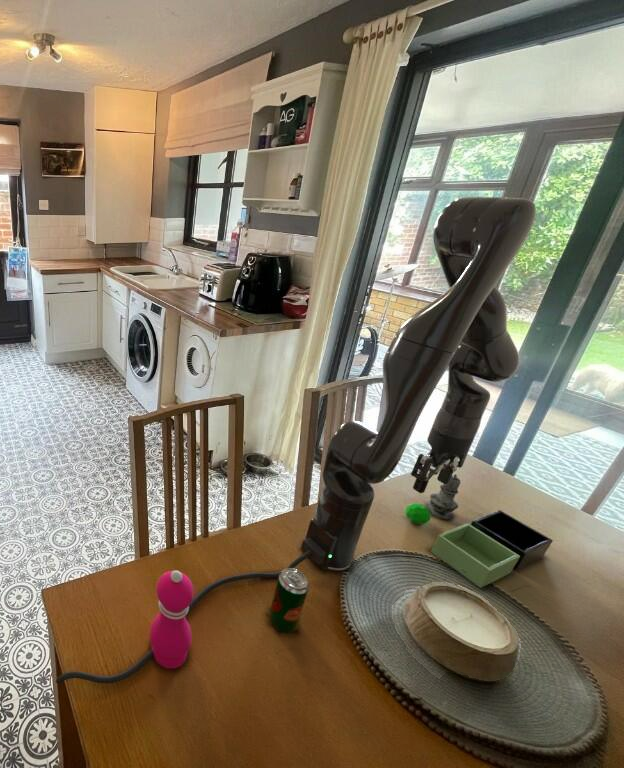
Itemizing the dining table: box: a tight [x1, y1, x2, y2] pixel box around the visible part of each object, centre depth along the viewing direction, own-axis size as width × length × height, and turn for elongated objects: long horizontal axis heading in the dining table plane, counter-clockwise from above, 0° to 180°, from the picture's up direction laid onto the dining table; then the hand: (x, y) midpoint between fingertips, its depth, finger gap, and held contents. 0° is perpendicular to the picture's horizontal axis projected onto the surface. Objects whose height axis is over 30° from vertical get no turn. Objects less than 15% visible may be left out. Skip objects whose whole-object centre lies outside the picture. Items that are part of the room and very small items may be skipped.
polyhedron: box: [405, 503, 432, 525], centre depth 101 cm, size 5×5×5 cm
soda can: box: [268, 567, 309, 633], centre depth 76 cm, size 5×5×12 cm
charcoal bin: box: [470, 509, 554, 571], centre depth 94 cm, size 10×10×5 cm
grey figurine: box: [426, 474, 462, 520], centre depth 103 cm, size 6×6×12 cm
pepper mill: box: [149, 570, 195, 670], centre depth 69 cm, size 7×7×20 cm
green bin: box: [430, 523, 520, 589], centre depth 90 cm, size 10×10×5 cm
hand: (430, 486), depth 98 cm, fingers open, 8 cm apart
